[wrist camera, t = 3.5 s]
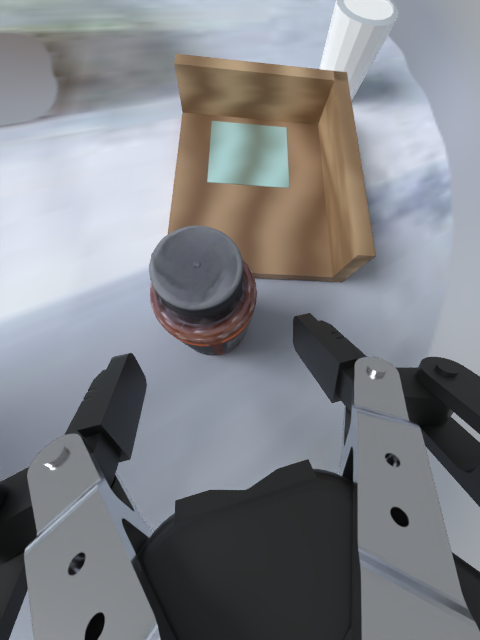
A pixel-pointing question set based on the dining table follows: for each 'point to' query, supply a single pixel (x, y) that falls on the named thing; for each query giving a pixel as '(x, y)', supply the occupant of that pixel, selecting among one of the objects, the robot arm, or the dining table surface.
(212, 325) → the supplement bottle
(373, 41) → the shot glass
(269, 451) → the dining table surface
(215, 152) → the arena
